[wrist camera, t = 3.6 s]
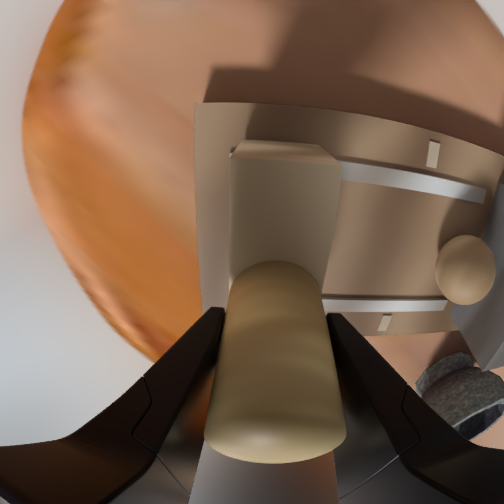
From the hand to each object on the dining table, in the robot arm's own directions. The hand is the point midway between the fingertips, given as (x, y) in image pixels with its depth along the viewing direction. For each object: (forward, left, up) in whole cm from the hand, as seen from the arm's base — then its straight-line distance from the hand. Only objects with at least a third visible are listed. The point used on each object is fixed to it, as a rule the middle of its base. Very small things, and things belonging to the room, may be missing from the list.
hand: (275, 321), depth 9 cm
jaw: (0, 0, -5) cm, 5 cm away
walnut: (-10, 0, -5) cm, 11 cm away
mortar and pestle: (-17, +14, -7) cm, 23 cm away
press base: (-6, 0, -7) cm, 9 cm away
